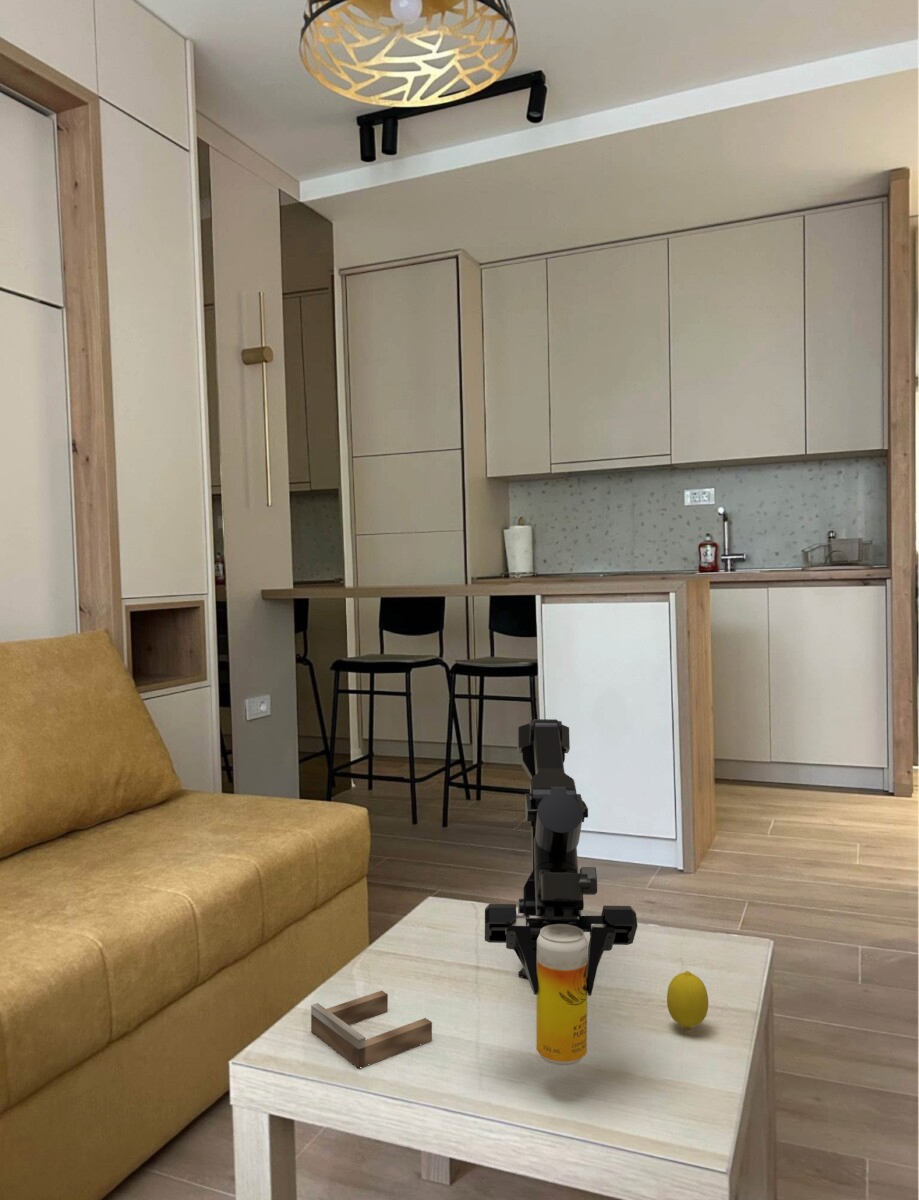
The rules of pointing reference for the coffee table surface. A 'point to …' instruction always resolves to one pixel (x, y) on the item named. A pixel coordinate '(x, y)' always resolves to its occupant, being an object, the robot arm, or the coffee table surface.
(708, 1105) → the coffee table surface
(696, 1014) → the lemon
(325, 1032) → the frame
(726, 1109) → the coffee table surface
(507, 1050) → the coffee table surface
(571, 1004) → the beer can
